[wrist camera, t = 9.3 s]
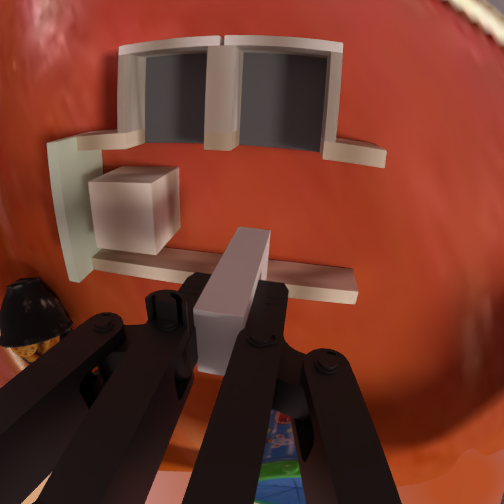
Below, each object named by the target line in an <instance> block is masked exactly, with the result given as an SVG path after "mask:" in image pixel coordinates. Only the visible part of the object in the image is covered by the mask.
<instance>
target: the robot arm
mask: <svg viewBox="0 0 504 504" xmlns="http://www.w3.org/2000/svg"><path fill="white" fill-rule="evenodd" d="M270 231H271V230H264V229H255V228H246V227H238V229H237V231H236V232H235V234H234V236H233V238H232V239H231V241H230V243H229V245H228V247H227V248H226V250H225V252H224V254H223V256H222V257H221V259H220V261H219V263H218V265H217V266H216V268H215V270H214V272H213V274H207V273H200V272H195V273H194V274H192V275H190V276H189V277H187V278H186V280H185V281H184V283H183V284H182V286H181V287H180V289H179V290H178V291H174V290H159V291H155V292H153V293H151V294H149V295H148V296H147V297H146V298H145V302H146V308H147V315H148V321H147V322H146V324H142V325H124V324H123V321H122V318H121V317H120V316H118V315H117V314H114V313H111V312H106V313H100V314H96V315H94V316H92V317H91V318H89V319H88V320H87V321H85V322H84V323H83V324H81V325H80V326H79V327H77V328H76V329H75V330H73V331H72V332H71V333H69V334H68V335H67V336H66V337H64V338H63V339H62V340H60V341H59V342H58V343H57V344H55V345H54V346H53V347H51V348H50V349H49V350H48V351H46V352H45V353H44V354H42V355H41V356H40V357H39V358H37V359H36V360H35V361H34V362H32V363H31V364H30V365H29V366H27V367H26V368H25V369H24V370H22V371H21V372H20V373H19V374H18V375H16V376H15V377H14V378H13V379H11V380H10V381H9V382H8V383H7V384H5V385H4V386H3V387H2V388H0V504H21V503H22V502H23V501H24V500H25V499H26V498H27V497H28V496H29V495H30V494H31V493H32V492H33V491H34V490H35V488H37V487H38V486H39V484H41V482H42V481H43V480H44V479H45V478H46V477H47V476H48V475H49V474H50V473H51V472H52V471H53V472H52V473H51V475H50V477H49V479H48V480H47V482H46V484H45V486H44V488H43V490H42V491H41V493H40V495H39V497H38V498H37V500H36V501H35V502H34V503H32V504H145V501H146V499H147V496H148V494H149V491H150V489H151V486H152V483H153V481H154V479H155V476H156V474H157V471H158V469H159V466H160V464H161V461H162V459H163V456H164V454H165V451H166V449H167V446H168V444H169V441H170V439H171V436H172V434H173V431H174V429H175V426H176V424H177V421H178V419H179V417H180V414H181V412H182V409H183V407H184V404H185V402H186V399H187V397H188V394H189V392H190V389H191V387H192V384H193V380H194V374H193V370H194V367H195V365H196V363H197V365H198V371H200V372H205V373H210V374H215V375H220V376H224V378H223V381H222V384H221V387H220V390H219V393H218V396H217V399H216V403H215V406H214V409H213V412H212V415H211V418H210V421H209V424H208V427H207V430H206V433H205V436H204V439H203V442H202V445H201V448H200V451H199V454H198V457H197V460H196V463H195V466H194V469H193V471H192V474H191V478H190V480H189V483H188V486H187V489H186V492H185V495H184V498H183V501H182V504H254V500H255V495H256V491H257V486H258V481H259V475H260V470H261V465H262V460H263V455H264V449H265V444H266V438H267V433H268V427H269V421H270V415H271V410H272V409H273V410H276V411H278V412H280V413H283V414H285V415H287V416H290V420H291V425H292V431H293V436H294V441H295V447H296V452H297V457H298V463H299V468H300V474H301V479H302V485H303V490H304V495H305V501H306V504H402V503H401V500H400V497H399V494H398V491H397V488H396V485H395V483H394V480H393V477H392V474H391V471H390V468H389V465H388V463H387V460H386V457H385V454H384V451H383V449H382V446H381V443H380V441H379V438H378V435H377V433H376V430H375V427H374V425H373V422H372V419H371V417H370V414H369V411H368V409H367V406H366V404H365V401H364V399H363V396H362V393H361V391H360V388H359V386H358V383H357V381H356V378H355V376H354V373H353V371H352V368H351V366H350V364H349V362H348V360H347V359H346V357H345V356H344V355H342V354H341V353H339V352H337V351H335V350H332V349H324V348H321V349H316V350H313V351H311V352H309V353H308V354H307V355H306V354H304V353H301V352H299V351H297V350H295V349H293V348H292V347H290V346H289V345H288V344H287V343H286V341H285V339H284V336H283V331H284V324H285V317H286V309H287V301H288V294H289V290H288V288H287V287H286V285H285V283H281V282H273V281H266V278H267V266H268V255H269V243H270ZM96 366H97V367H98V370H97V371H95V372H91V371H92V370H93V369H94V368H95V367H96ZM501 504H504V493H503V497H502V500H501Z"/></svg>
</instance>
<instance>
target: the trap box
mask: <svg viewBox="0 0 504 504" xmlns="http://www.w3.org/2000/svg"><path fill="white" fill-rule="evenodd" d="M342 55H343V43H340V42H333V41H326V40H317V39H308V38H297V37H283V36H261V35H225V40H224V39H223V38H222V37H220V36H200V37H186V38H175V39H165V40H157V41H149V42H143V43H136V44H130V45H124V46H119V58H118V86H117V127H118V129H114V130H100V131H90V132H86V133H82V134H78V135H74V136H70V137H66V138H63V139H59V140H55V141H52V142H48V143H47V153H48V164H49V173H50V182H51V189H52V196H53V203H54V209H55V215H56V221H57V227H58V232H59V237H60V242H61V247H62V251H63V256H64V260H65V264H66V268H67V273H68V276H69V280H70V281H73V282H77V283H80V282H81V281H82V280H83V279H84V278H85V277H86V276H87V275H88V274H89V273H90V272H92V271H93V270H100V271H106V272H111V273H117V274H123V275H129V276H136V277H142V278H148V279H154V280H161V281H167V282H174V283H181V284H183V283H184V281H185V280H186V278H187V277H189V276H190V275H192V274H194V273H195V272H200V273H207V274H213V272H214V270H215V268H216V266H217V265H218V263H219V261H220V259H221V257H222V256H223V254H217V253H208V252H200V251H191V250H182V249H174V248H165V247H163V248H162V249H161V250H160V252H159V253H158V254H157V255H151V254H143V253H135V252H127V251H120V250H112V249H105V248H97V244H96V238H95V231H94V225H93V218H92V211H91V203H90V194H89V185H88V182H89V181H91V180H93V179H95V178H97V177H99V176H102V175H103V164H102V150H109V149H128V148H131V147H134V146H137V145H140V144H143V143H204V150H224V151H231V150H232V149H234V148H235V147H237V146H238V145H250V146H264V147H276V148H287V149H297V150H306V151H315V152H320V154H321V157H322V159H326V160H333V161H341V162H348V163H355V164H361V165H368V166H374V167H380V168H384V167H385V161H386V154H387V150H385V149H383V148H381V147H380V146H378V145H376V144H373V143H367V142H361V141H355V140H348V139H341V138H336V132H337V122H338V111H339V99H340V86H341V72H342ZM266 281H273V282H281V283H285V285H286V287H287V288H288V290H289V294H288V298H297V299H306V300H316V301H325V302H335V303H346V304H355V303H356V299H357V295H358V288H357V284H356V280H355V276H354V272H353V269H349V268H340V267H331V266H322V265H313V264H304V263H296V262H287V261H278V260H269V259H268V266H267V278H266Z"/></svg>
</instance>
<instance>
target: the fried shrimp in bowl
mask: <svg viewBox="0 0 504 504" xmlns="http://www.w3.org/2000/svg"><path fill="white" fill-rule="evenodd" d="M72 325H73V321H72V320H71V319H70V318H69V317H68V316H67V315H66V313H65V311H64V308H63V306H62V304H61V303H60V301H59V300H58V299H57V297H56V296H55V295H54V294H53V293H51V292H50V291H49V290H47V289H46V288H45V287H44V286H43V285H42V283H41V280H40V278H38V277H37V278H22V279H21V278H20V279H19V280H17V281H16V282H14V283H12V284H11V285H9V286H7V291H6V295H5V297H4V299H3V303H2V307H1V310H0V332H1V336H0V345H1V346H2V347H11V349H12V351H13V352H14V353H16V354H17V355H19V356H21V358H22V359H23V360H25V361H26V362H27V363H29V364H31V363H32V362H34V361H35V360H36V359H37V358H39V357H40V356H41V355H42V354H44V353H45V352H46V351H48V350H49V349H50V348H51V347H53V346H54V345H55V344H57V343H58V342H59V341H60V340H62V339H63V338H64V337H66V336H67V335H68V334H69V333H71V332H72V330H71V329H70V328H71V327H72Z"/></svg>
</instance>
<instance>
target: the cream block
mask: <svg viewBox="0 0 504 504" xmlns="http://www.w3.org/2000/svg"><path fill="white" fill-rule="evenodd" d="M88 185H89V194H90V203H91V211H92V218H93V225H94V231H95V238H96V244H97V248H105V249H112V250H120V251H127V252H135V253H143V254H151V255H157V254H158V253H159V252H160V250H161V249H162V248H163V247H164V246H165V245H166V244H167V242H168V241H169V240H170V239H171V238H172V237H173V236H174V234H175V233H176V232H177V231H178V230H179V229H180V228H181V226H180V198H179V167H165V166H121V167H119V168H117V169H115V170H112V171H110V172H108V173H106V174H104V175H102V176H99V177H97V178H95V179H93V180H91V181H89V182H88Z"/></svg>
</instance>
